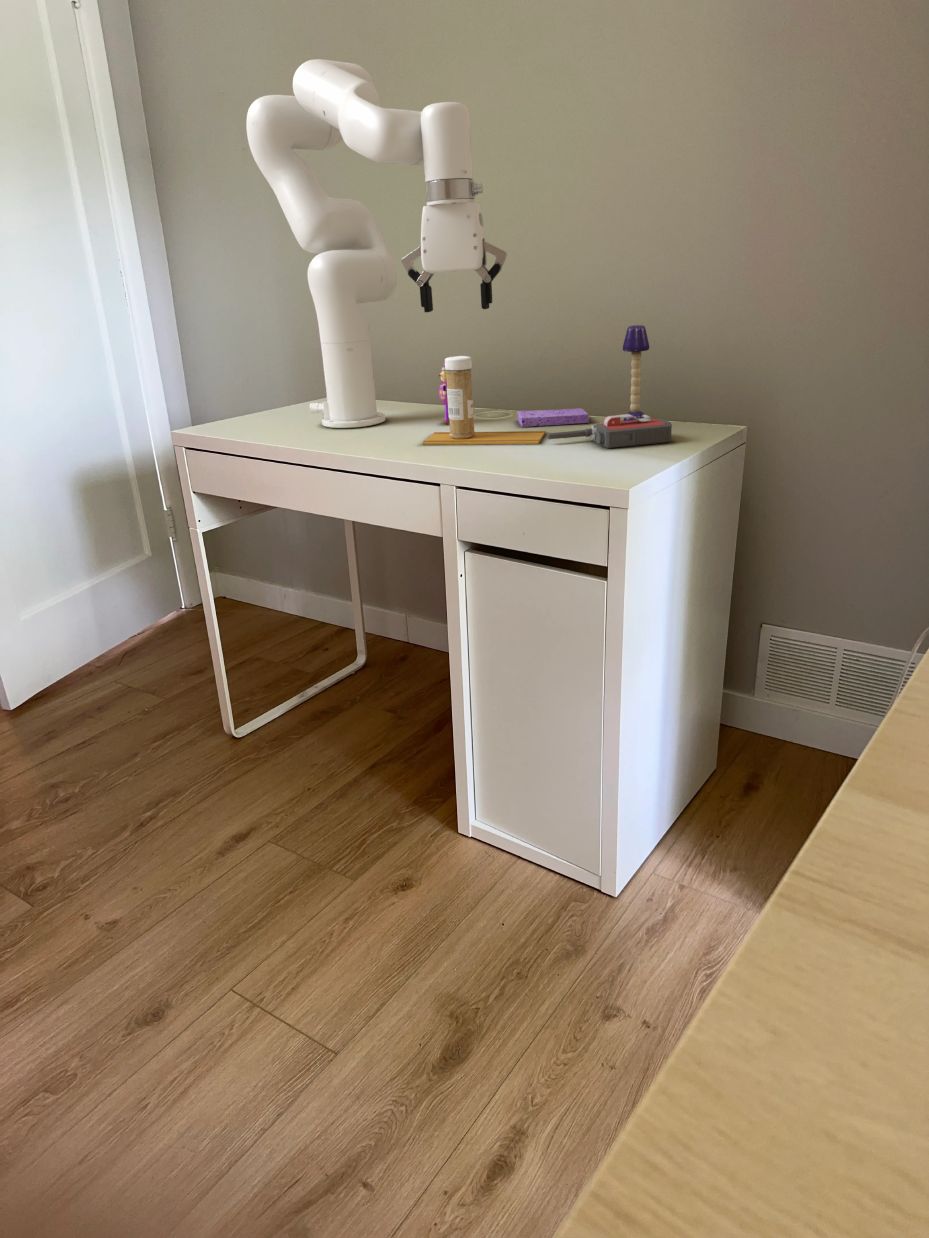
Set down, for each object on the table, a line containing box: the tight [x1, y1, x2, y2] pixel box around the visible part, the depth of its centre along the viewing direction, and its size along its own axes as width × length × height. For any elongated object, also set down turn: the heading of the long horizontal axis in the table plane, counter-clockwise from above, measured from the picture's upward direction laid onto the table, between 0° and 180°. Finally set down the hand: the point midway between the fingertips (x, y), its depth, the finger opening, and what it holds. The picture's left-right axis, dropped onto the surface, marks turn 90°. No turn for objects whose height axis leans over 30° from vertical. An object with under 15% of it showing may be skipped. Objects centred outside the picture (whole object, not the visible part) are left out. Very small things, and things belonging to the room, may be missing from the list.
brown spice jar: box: [444, 355, 476, 439], centre depth 146 cm, size 5×5×14 cm
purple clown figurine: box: [438, 358, 450, 425], centre depth 161 cm, size 11×3×12 cm, turn 179°
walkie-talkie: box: [546, 413, 673, 449], centre depth 139 cm, size 9×4×20 cm
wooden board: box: [422, 430, 546, 446], centre depth 148 cm, size 20×9×1 cm, turn 77°
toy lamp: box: [622, 324, 650, 422], centre depth 152 cm, size 5×5×17 cm
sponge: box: [517, 408, 590, 428], centre depth 159 cm, size 7×13×2 cm, turn 91°
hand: (457, 310), depth 140 cm, fingers open, 9 cm apart
